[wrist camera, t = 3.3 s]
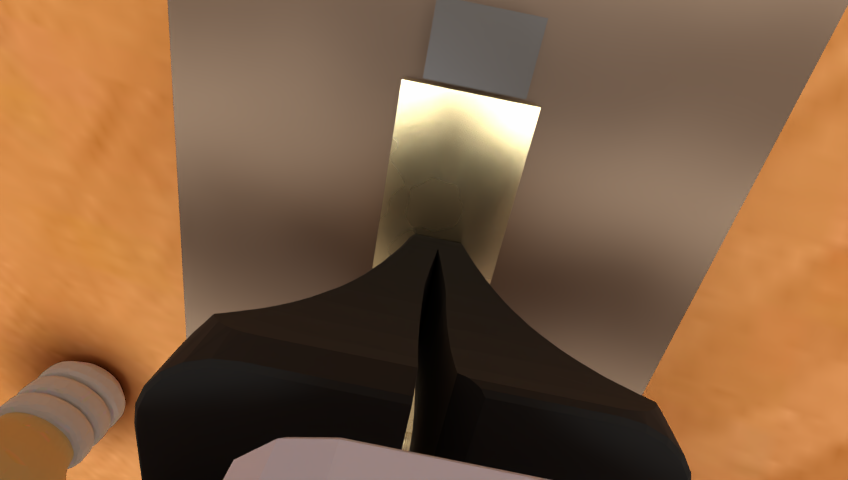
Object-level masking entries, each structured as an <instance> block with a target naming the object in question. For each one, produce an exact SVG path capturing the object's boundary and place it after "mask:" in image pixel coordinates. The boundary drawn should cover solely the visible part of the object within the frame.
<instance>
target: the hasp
mask: <svg viewBox="0 0 848 480" xmlns="http://www.w3.org/2000/svg"><path fill="white" fill-rule="evenodd" d="M540 109H541V107H540V106H539V105H537V104H535V103H530V102H525V101H521V100H516V99H511V98H506V97H501V96H496V95H491V94H486V93H481V92H477V91H472V90H467V89H462V88H457V87H452V86H447V85H442V84H438V83H433V82H428V81H423V80H418V79H413V78H408V77H404V78H403V79H402V80H401V87H400V93H399V100H398V106H397V112H396V119H395V125H394V132H393V138H392V145H391V151H390V158H389V164H388V170H387V177H386V183H385V190H384V196H383V203H382V209H381V216H380V222H379V228H378V235H377V241H376V248H375V254H374V261H373V267H372V269H373V268H374V267H376V266H377V265H379V264H380V263H382V262H383V261H384V260H385V259H387V258H388V257H389V256H390V255H392V254H393V253H394V252H395V251H396V250H397V249H399V248H400V247H401V246H402V245H403V244H404V243H405V242H406V241H407V240H408V238H409V237H411V236H412V235H414V234H418V235H423V236H428V237H433V238H437V239H442V240H447V241H452V242H457V243H462V245H463V246H464V248H465V249H466V251H467V253H468V254H469V256H470V257H471V259H472V260H473V262H474V264H475V265H476V267H477V268H478V269H479V271H480V272H481V274H482V275H483V276H484V278H485V279H486V280H487V282H488V283H489V284H490V283H491V279H492V276H493V272H494V269H495V265H496V262H497V258H498V255H499V251H500V248H501V244H502V241H503V238H504V234H505V231H506V227H507V224H508V220H509V217H510V213H511V210H512V206H513V203H514V199H515V196H516V192H517V189H518V186H519V182H520V179H521V175H522V172H523V168H524V165H525V161H526V158H527V154H528V151H529V147H530V144H531V140H532V137H533V134H534V130H535V127H536V123H537V120H538V116H539V113H540ZM414 401H415V390H414V397H413V402H412V407H411V412H410V416H409V420H408V424H407V429H406V433H405V437H404V441H403V446H402V450H405V451H409V450H410V443H411V436H412V429H413V418H414Z"/></svg>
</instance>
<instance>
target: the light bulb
mask: <svg viewBox="0 0 848 480" xmlns="http://www.w3.org/2000/svg"><path fill="white" fill-rule="evenodd" d="M125 405H126V402H125V396H124V394H123V390H122V388H121V386H120V384H119V382H118V381H117V380H116V378H115V377H114V376H113V375H111V374H110V373H109V372H108V371H106V370H105V369H103V368H101V367H99V366H97V365H94V364H91V363H87V362H78V361H63V362H59V363H56V364H54V365H52V366H50V367H49V368H48V369H47V370H45V371H44V372H43V373H42V374H41V375H40V376H39V377H38V378H37V379H36V380H34V381H32V382H31V383H29V384H28V385H27V386H25V387H24V388H23V389H22V390H21V391H20V392H19V393H18V394H17V396H14V397H13V398H11V399H10V400H8V401H7V402H6V403H5V404H3V405H2V406H1V407H0V480H66V473H67V469H69V468H72V467H74V466H75V465H77V464H78V463H80V462H81V461H82V460H83V459H84V458H85V456H86V455H87V454H88V453H89V452H90V450H91V448H92V446H94V445H96V444H97V443H98V442H99V441H100V440H101V439H102V438H103V437H104V435H105V434H106V432H107V431H108V429H109V428H111V427H112V426H113V425H114V424H115V423H116V422H117V421H118V419H119V418H120V417H121V416H122V415H123V413H124V409H125Z"/></svg>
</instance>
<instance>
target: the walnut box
mask: <svg viewBox="0 0 848 480" xmlns="http://www.w3.org/2000/svg"><path fill="white" fill-rule="evenodd" d="M847 5H848V0H168V15H169V33H170V51H171V69H172V87H173V105H174V122H175V140H176V158H177V176H178V194H179V212H180V230H181V248H182V266H183V283H184V301H185V319H186V337H187V338H188V337H189V336H190V335H191V334H192V333H193V332H194V331H195V330H197V329H198V328H199V327H200V326H201V325H202V324H203V323H204V322H205V321H207V320H208V319H209V318H210V317H211V316H212V315H213V314H217V313H227V312H235V311H243V310H251V309H259V308H266V307H271V306H276V305H281V304H286V303H290V302H294V301H298V300H302V299H306V298H309V297H312V296H315V295H318V294H321V293H324V292H326V291H329V290H332V289H335V288H338V287H340V286H342V285H345V284H347V283H349V282H351V281H353V280H355V279H357V278H359V277H360V276H362V275H364V274H365V273H367V272H368V271H370V270H371V269H372V267H373V261H374V254H375V248H376V241H377V235H378V228H379V222H380V216H381V209H382V203H383V196H384V190H385V183H386V177H387V170H388V164H389V158H390V151H391V145H392V138H393V132H394V125H395V119H396V112H397V106H398V100H399V93H400V87H401V80H402V79H403V78H404V77H408V78H413V79H418V80H423V81H428V82H433V83H438V84H442V85H447V86H452V87H457V88H462V89H467V90H472V91H477V92H481V93H486V94H491V95H496V96H501V97H506V98H511V99H516V100H521V101H525V102H530V103H535V104H537V105H539V106H540V107H541V109H540V113H539V116H538V120H537V123H536V127H535V130H534V134H533V137H532V140H531V144H530V147H529V151H528V154H527V158H526V161H525V165H524V168H523V172H522V175H521V179H520V182H519V186H518V189H517V192H516V196H515V199H514V203H513V206H512V210H511V213H510V217H509V220H508V224H507V227H506V231H505V234H504V238H503V241H502V244H501V248H500V251H499V255H498V258H497V262H496V265H495V269H494V272H493V276H492V279H491V283H490V285H491V287H492V288H493V289H494V290H495V291H496V293H497V294H498V295H499V296H500V297H501V298H502V299H503V301H504V302H505V303H506V304H507V305H508V306H509V307H510V308H511V309H512V310H513V311H514V312H515V313H516V314H517V315H518V316H520V317H521V318H522V319H523V320H524V321H525V322H526V323H527V324H528V325H529V326H531V327H532V328H533V329H534V330H535V331H537V332H538V333H539V334H540V335H542V336H543V337H544V338H546V339H547V340H548V341H550V342H551V343H552V344H554V345H555V346H556V347H558V348H559V349H561V350H562V351H564V352H565V353H567V354H568V355H570V356H571V357H573V358H574V359H576V360H577V361H579V362H581V363H582V364H584V365H586V366H587V367H589V368H591V369H592V370H594V371H596V372H597V373H599V374H601V375H602V376H604V377H606V378H608V379H610V380H612V381H614V382H616V383H618V384H620V385H622V386H624V387H626V388H628V389H630V390H632V391H634V392H636V393H638V394H640V395H642V394H643V392H644V390H645V388H646V386H647V385H648V383H649V381H650V379H651V377H652V375H653V373H654V371H655V369H656V368H657V366H658V364H659V362H660V360H661V358H662V356H663V354H664V352H665V350H666V349H667V347H668V345H669V343H670V341H671V339H672V337H673V335H674V333H675V331H676V330H677V328H678V326H679V324H680V322H681V320H682V318H683V316H684V314H685V313H686V311H687V309H688V307H689V305H690V303H691V301H692V299H693V297H694V295H695V294H696V292H697V290H698V288H699V286H700V284H701V282H702V280H703V278H704V277H705V275H706V273H707V271H708V269H709V267H710V265H711V263H712V261H713V259H714V258H715V256H716V254H717V252H718V250H719V248H720V246H721V244H722V242H723V240H724V239H725V237H726V235H727V233H728V231H729V229H730V227H731V225H732V223H733V222H734V220H735V218H736V216H737V214H738V212H739V210H740V208H741V206H742V204H743V203H744V201H745V199H746V197H747V195H748V193H749V191H750V189H751V187H752V186H753V184H754V182H755V180H756V178H757V176H758V174H759V172H760V170H761V168H762V167H763V165H764V163H765V161H766V159H767V157H768V155H769V153H770V151H771V149H772V148H773V146H774V144H775V142H776V140H777V138H778V136H779V134H780V132H781V131H782V129H783V127H784V125H785V123H786V121H787V119H788V117H789V115H790V113H791V112H792V110H793V108H794V106H795V104H796V102H797V100H798V98H799V96H800V95H801V93H802V91H803V89H804V87H805V85H806V83H807V81H808V79H809V77H810V76H811V74H812V72H813V70H814V68H815V66H816V64H817V62H818V60H819V59H820V57H821V55H822V53H823V51H824V49H825V47H826V45H827V43H828V41H829V40H830V38H831V36H832V34H833V32H834V30H835V28H836V26H837V24H838V22H839V21H840V19H841V17H842V15H843V13H844V11H845V9H846V7H847Z"/></svg>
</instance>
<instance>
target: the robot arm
mask: <svg viewBox="0 0 848 480" xmlns="http://www.w3.org/2000/svg"><path fill="white" fill-rule="evenodd" d="M414 390H415V401H414V418H413V429H412V436H411V443H410V450H409V451H405V450H402V446H403V441H404V437H405V433H406V429H407V424H408V420H409V416H410V412H411V407H412V402H413V397H414ZM134 424H135V432H136V439H137V447H138V454H139V462H140V469H141V476H142V480H691V471H690V469H689V466H688V464H687V461H686V458H685V456H684V454H683V452H682V450H681V448H680V446H679V444H678V442H677V440H676V438H675V436H674V434H673V433H672V431H671V429H670V427H669V425H668V423H667V421H666V419H665V417H664V416H663V414H662V412H661V410H660V408H659V407H658V405H657V403H656V402H654V401H652V400H650V399H648V398H646V397H644V396H642V395H640V394H638V393H636V392H634V391H632V390H630V389H628V388H626V387H624V386H622V385H620V384H618V383H616V382H614V381H612V380H610V379H608V378H606V377H604V376H602V375H601V374H599V373H597V372H596V371H594V370H592V369H591V368H589V367H587V366H586V365H584V364H582V363H581V362H579V361H577V360H576V359H574V358H573V357H571V356H570V355H568V354H567V353H565V352H564V351H562V350H561V349H559V348H558V347H556V346H555V345H554V344H552V343H551V342H550V341H548V340H547V339H546V338H544V337H543V336H542V335H540V334H539V333H538V332H537V331H535V330H534V329H533V328H532V327H531V326H529V325H528V324H527V323H526V322H525V321H524V320H523V319H522V318H521V317H520V316H518V315H517V314H516V313H515V312H514V311H513V310H512V309H511V308H510V307H509V306H508V305H507V304H506V303H505V302H504V301H503V299H502V298H501V297H500V296H499V295H498V294H497V293H496V291H495V290H494V289H493V288H492V287H491V285H490V284H489V283H488V282H487V280H486V279H485V278H484V276H483V275H482V274H481V272H480V271H479V269H478V268H477V267H476V265H475V264H474V262H473V260H472V259H471V257H470V256H469V254H468V253H467V251H466V249H465V248H464V246H463V245H462V243H457V242H452V241H447V240H442V239H437V238H433V237H428V236H423V235H418V234H414V235H412V236H411V237H409V238H408V240H407V241H406V242H405V243H404V244H403V245H402V246H401V247H400V248H399V249H397V250H396V251H395V252H394V253H393V254H392V255H390V256H389V257H388V258H387V259H385V260H384V261H383V262H382V263H380V264H379V265H377V266H376V267H374V268H373V269H371V270H370V271H368V272H367V273H365V274H364V275H362V276H360V277H359V278H357V279H355V280H353V281H351V282H349V283H347V284H345V285H342V286H340V287H338V288H335V289H332V290H329V291H326V292H324V293H321V294H318V295H315V296H312V297H309V298H306V299H302V300H298V301H294V302H290V303H286V304H281V305H276V306H271V307H266V308H259V309H251V310H243V311H235V312H227V313H217V314H213V315H212V316H211V317H210V318H209V319H208V320H207V321H205V322H204V323H203V324H202V325H201V326H200V327H199V328H198V329H197V330H195V331H194V332H193V333H192V334H191V335H190V336H189V337H188V338H187V339H186V340H185V341H184V342H183V343H182V345H181V346H180V347H179V348H178V349H177V350H176V351H175V352H174V353H173V354H172V355H171V357H170V358H169V359H168V360H167V361H166V362H165V363H164V364H163V365H162V367H161V368H160V369H159V370H158V371H157V372H156V373H155V374H154V375H153V377H152V378H151V379H150V380H149V381H148V382H147V383H146V384H145V385H144V387H143V389H142V391H141V393H140V395H139V397H138V399H137V402H136V404H135V421H134Z"/></svg>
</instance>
